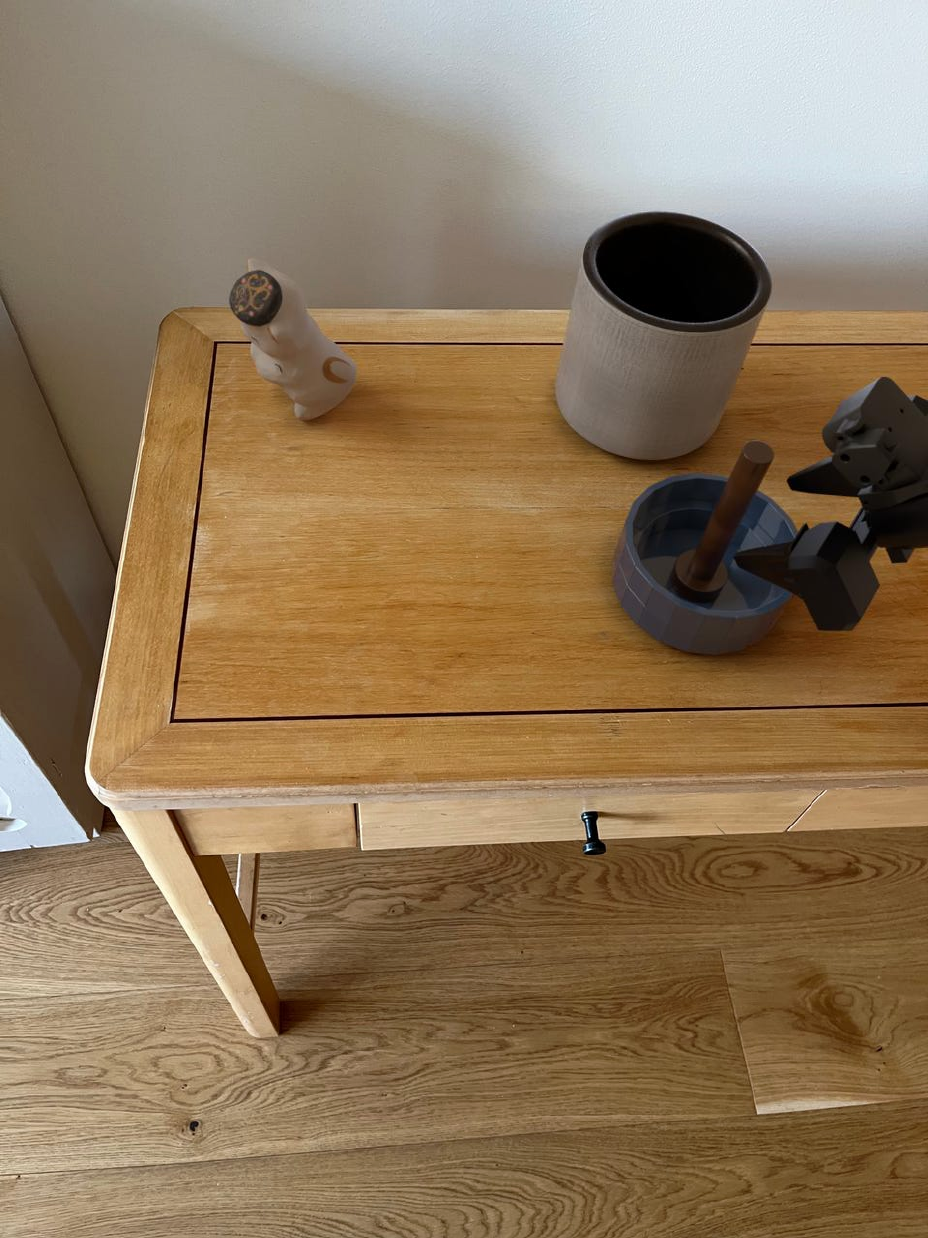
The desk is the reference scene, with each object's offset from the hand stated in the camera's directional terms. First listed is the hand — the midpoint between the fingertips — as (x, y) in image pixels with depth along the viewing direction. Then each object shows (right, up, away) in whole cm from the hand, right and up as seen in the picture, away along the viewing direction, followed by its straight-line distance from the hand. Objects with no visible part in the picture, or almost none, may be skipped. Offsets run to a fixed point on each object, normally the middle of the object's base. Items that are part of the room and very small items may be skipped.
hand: (763, 520), depth 68 cm
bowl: (-3, -4, +9) cm, 11 cm away
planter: (-6, +13, +21) cm, 25 cm away
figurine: (-37, +12, +18) cm, 43 cm away
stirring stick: (-3, -4, +9) cm, 10 cm away
